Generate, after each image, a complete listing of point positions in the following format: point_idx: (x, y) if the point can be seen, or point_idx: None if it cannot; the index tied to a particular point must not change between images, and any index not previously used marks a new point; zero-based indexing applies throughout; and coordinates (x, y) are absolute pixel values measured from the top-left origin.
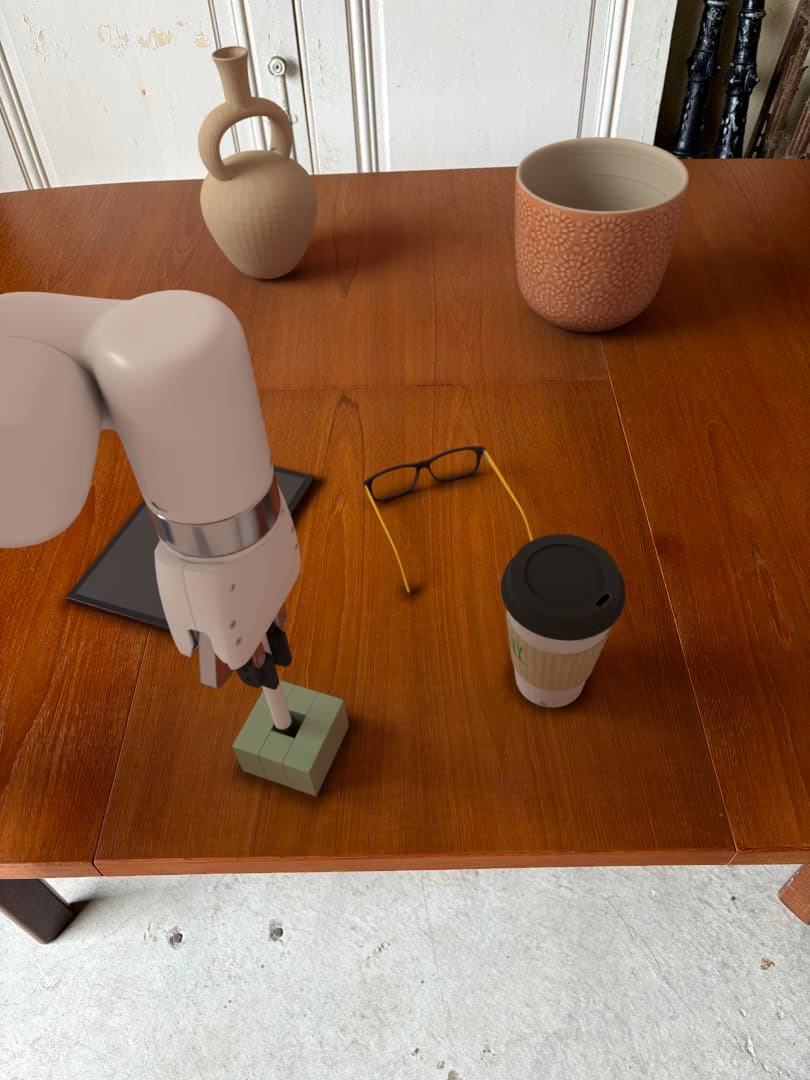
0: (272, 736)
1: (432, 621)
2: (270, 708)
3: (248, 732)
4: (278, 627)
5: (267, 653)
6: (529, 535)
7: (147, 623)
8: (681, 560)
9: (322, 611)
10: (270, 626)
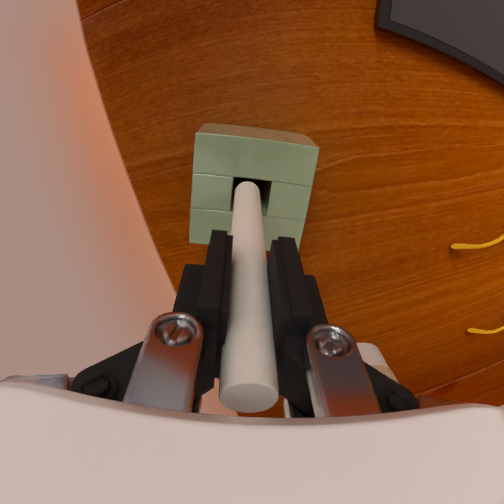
0: (224, 182)
1: (417, 272)
2: (234, 209)
3: (222, 147)
4: (284, 402)
5: (218, 376)
6: (479, 330)
7: None
8: (435, 395)
9: (435, 157)
10: (283, 393)
